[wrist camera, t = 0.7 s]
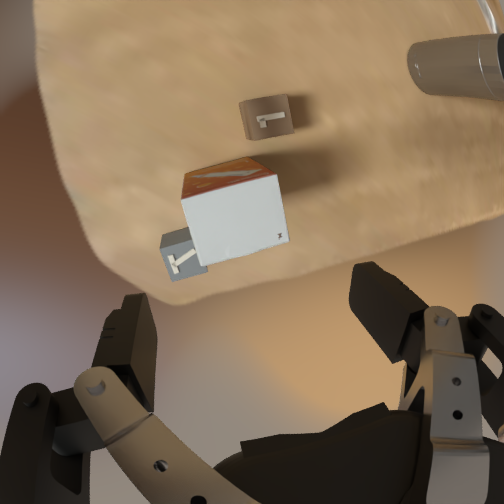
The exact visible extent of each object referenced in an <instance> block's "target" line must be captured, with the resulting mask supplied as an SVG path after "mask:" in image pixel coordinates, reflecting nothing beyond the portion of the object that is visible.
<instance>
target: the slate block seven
mask: <svg viewBox="0 0 504 504" xmlns="http://www.w3.org/2000/svg"><path fill="white" fill-rule="evenodd" d="M160 251H161V254H162V257H163V260H164V262H165V265H166V268H167V270H168V273H169V275H170V278H171V280H172V282H174V281H177V280H181V279H185V278H188V277H192V276H195V275H199V274H202V273H206V272H208V270H207V266H201V265H200V263H199V259H198V256H197V253H196V250H195V247H194V243H193V240H192V237H191V234H190V230H189V227H187V228H184V229H181V230H177V231H174V232H170V233H167V234H163V235H162V239H161V244H160Z"/></svg>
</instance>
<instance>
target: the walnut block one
mask: <svg viewBox="0 0 504 504" xmlns="http://www.w3.org/2000/svg"><path fill="white" fill-rule="evenodd" d="M239 107H240V112H241V116H242V121H243V125H244V130H245V135H246V139H249V140H253V141H256V140H261V139H266V138H271V137H276V136H281V135H287V134H292V133H294V130H293V124H292V119H291V114H290V108H289V103H288V98H287V94H283V95H276V96H269V97H263V98H257V99H251V100H246V101H243V102H241V103H239Z"/></svg>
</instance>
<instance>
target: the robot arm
mask: <svg viewBox="0 0 504 504" xmlns="http://www.w3.org/2000/svg"><path fill="white" fill-rule="evenodd" d="M408 67H409V71H410V74H411V76H412V78H413V80H414V82H415V83H416V85H417V86H418V87H419V88H420V89H421V90H422V91H423V92H425V93H426V94H429V95H445V96H460V97H472V98H482V99H491V100H498V101H504V33H501V34H481V35H469V36H459V37H450V38H443V39H436V40H429V41H423V42H418V43H415V44H413V45H412V46H411V48H410V49H409V52H408ZM349 304H350V308H351V310H352V312H353V313H354V314H355V316H356V317H357V318H358V319H359V321H360V322H361V323H362V325H363V326H364V327H365V328H366V330H367V331H368V332H369V334H370V335H371V336H372V337H373V339H374V340H375V341H376V343H377V344H378V345H379V347H380V348H381V349H382V351H383V352H384V353H385V354H386V356H387V357H388V358H389V360H390V361H391V362H392V364H393V363H396V362H399V361H401V360H405V362H406V363H405V366H404V368H403V377H402V386H401V395H400V402H399V407H398V410H388V408H387V406H386V405H385V403H384V402H382V403H380V404H377V405H375V406H373V407H370V408H367V409H364V410H361V411H359V412H356V413H353V414H351V415H350V416H348V417H347V418H345V419H343V420H342V421H340V422H339V423H337V424H335V425H334V426H332V427H330V428H329V429H327V430H325V431H323V432H320V433H306V434H278V435H274V436H269V437H264V438H259V439H254V440H247V441H241V442H240V444H241V449H242V451H241V452H238V453H236V454H233V455H232V456H230V457H228V458H226V459H224V460H223V461H221V462H220V463H219V464H217V465H216V466H215V467H214V468H211V467H210V466H209V465H208V464H207V463H206V462H204V461H203V460H202V459H201V458H200V457H199V456H197V455H196V454H195V453H194V452H193V451H192V450H191V449H190V448H188V447H187V446H186V445H185V444H184V443H183V442H182V441H181V440H180V439H179V438H178V437H177V436H176V435H175V434H174V433H173V432H172V431H171V430H170V429H169V428H168V427H166V425H165V424H164V423H163V422H162V421H161V420H160V419H159V418H158V417H157V416H156V415H154V414H152V413H151V414H149V413H148V412H154V390H155V370H156V355H157V331H156V327H155V323H154V320H153V316H152V313H151V310H150V306H149V302H148V298H147V295H146V294H145V293H139V294H130V295H126V296H125V297H124V300H123V303H122V307H121V309H118V310H117V309H116V310H113V311H112V312H111V314H110V315H109V316H108V317H107V318H106V320H105V323H104V326H103V331H102V332H101V336H100V339H99V342H98V346H97V349H96V352H95V356H94V359H93V363H92V366H91V368H89V369H87V370H85V371H84V372H82V373H81V374H80V375H79V376H78V377H77V379H76V380H75V383H74V387H72V388H69V389H66V390H62V391H58V392H54V393H51V392H50V390H49V389H48V388H47V387H46V386H45V385H44V384H41V383H31V384H29V385H27V386H25V387H24V388H22V389H21V390H20V391H19V393H18V394H17V396H16V398H15V401H14V405H13V408H12V411H11V415H10V419H9V422H8V425H7V429H6V434H5V437H4V441H3V446H2V450H1V455H0V504H90V497H89V495H90V491H89V490H90V487H89V486H90V484H89V483H90V454H91V451H94V450H98V449H102V448H106V449H107V450H108V452H109V453H110V455H111V456H112V457H113V459H114V460H115V461H116V463H117V464H118V465H119V467H120V468H121V469H122V471H123V472H124V473H125V474H126V476H127V477H128V478H129V479H130V481H131V482H132V483H133V484H134V485H135V487H136V488H137V489H138V490H139V491H140V492H141V494H142V495H143V496H144V497H145V498H146V499H147V500H148V501H149V502H150V504H504V317H503V316H502V315H501V314H500V313H498V311H496V310H495V309H494V308H492V307H491V306H489V305H486V304H476V305H474V306H473V307H472V310H471V313H470V315H469V316H465V317H457V316H456V314H455V313H453V312H452V311H451V310H449V309H447V308H445V307H441V306H431V307H429V306H428V305H427V304H426V303H425V302H424V301H423V300H422V299H420V298H419V297H418V296H417V295H416V294H415V293H414V292H413V291H412V290H409V288H408V287H407V286H406V285H405V284H403V282H402V281H400V280H399V279H398V278H397V277H396V276H394V275H392V274H390V273H388V272H386V271H384V270H383V269H382V268H380V267H379V266H378V265H377V264H376V263H375V262H372V261H371V262H364V263H358V264H355V265H354V267H353V272H352V279H351V286H350V292H349ZM487 348H489V349H490V350H491V351H492V352H493V353H494V354H495V356H496V357H497V358H498V359H499V360H500V361H501V363H502V367H503V369H502V373H501V375H500V377H499V378H498V379H497V377H496V376H495V375H494V374H493V373H492V371H491V370H490V369H489V368H488V367H487V365H486V364H485V363H484V362H483V361H482V360H481V359H482V358H483V356H484V354H485V352H486V350H487ZM482 415H483V416H484V418H485V419H486V421H487V422H488V424H489V425H490V427H491V428H492V430H493V431H494V433H495V434H496V435H497V437H498V440H499V441H496V440H492V439H490V438H487V437H483V436H482Z"/></svg>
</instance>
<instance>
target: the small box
mask: <svg viewBox="0 0 504 504" xmlns="http://www.w3.org/2000/svg"><path fill="white" fill-rule="evenodd" d="M181 203H182V207H183V210H184V213H185V217H186V220H187V224H188V227H189V230H190V234H191V237H192V240H193V243H194V247H195V250H196V253H197V256H198V259H199V263H200V265H201V266H207V265H211V264H214V263H218V262H222V261H225V260H229V259H233V258H237V257H241V256H245V255H249V254H252V253H255V252H258V251H260V250H263V249H267V248H270V247H273V246H277V245H280V244H283V243H287V242H289V241H290V238H289V234H288V229H287V224H286V218H285V213H284V208H283V203H282V198H281V193H280V187H279V182H278V177H277V174H276V173H274V172H272V171H271V170H269V169H267V168H266V167H264V166H263V165H261V164H259V163H258V162H256V161H254V160H252V159H251V158H249V157H244V158H241V159H237V160H234V161H230V162H226V163H222V164H219V165H215V166H211V167H208V168H204V169H200V170H197V171H193V172H189V173H186V174H184V180H183V187H182V195H181Z"/></svg>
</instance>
